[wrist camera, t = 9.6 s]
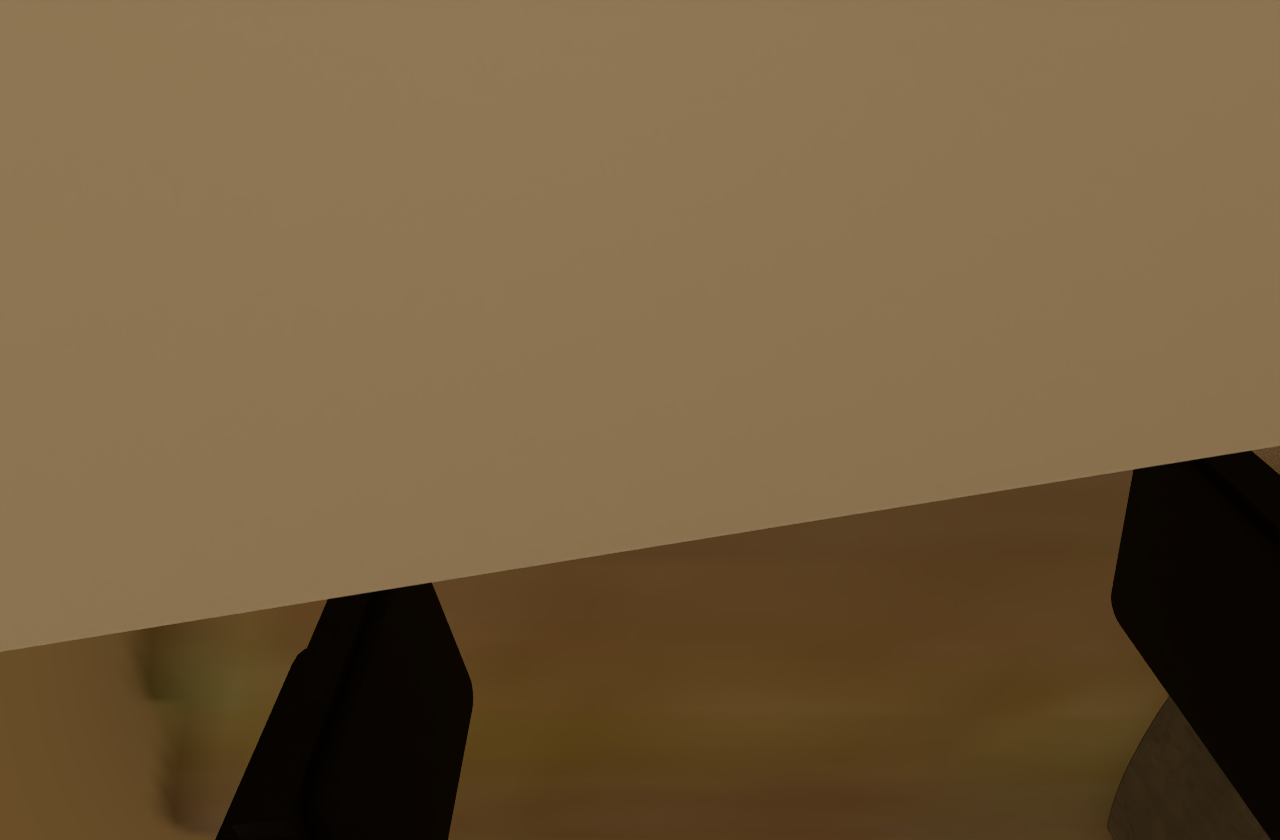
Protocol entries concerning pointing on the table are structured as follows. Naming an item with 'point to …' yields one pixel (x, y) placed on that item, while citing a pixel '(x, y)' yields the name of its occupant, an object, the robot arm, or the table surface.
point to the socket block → (599, 277)
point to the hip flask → (1178, 790)
